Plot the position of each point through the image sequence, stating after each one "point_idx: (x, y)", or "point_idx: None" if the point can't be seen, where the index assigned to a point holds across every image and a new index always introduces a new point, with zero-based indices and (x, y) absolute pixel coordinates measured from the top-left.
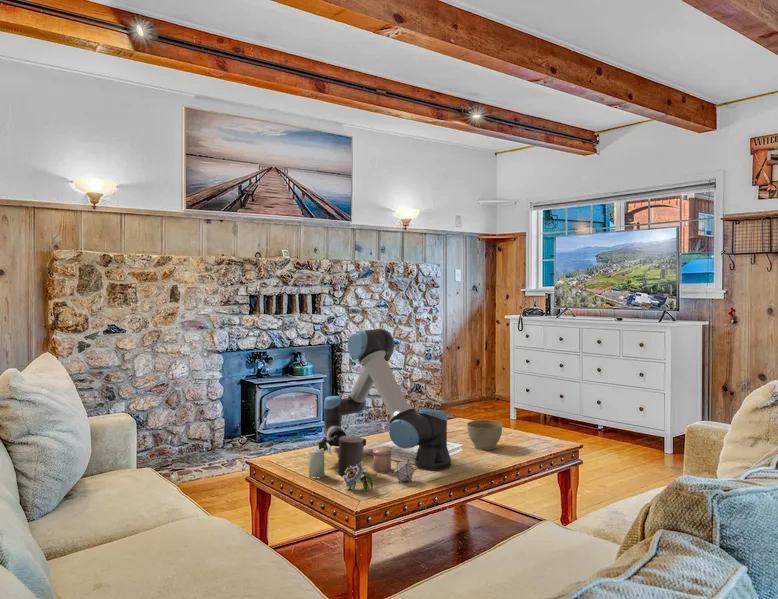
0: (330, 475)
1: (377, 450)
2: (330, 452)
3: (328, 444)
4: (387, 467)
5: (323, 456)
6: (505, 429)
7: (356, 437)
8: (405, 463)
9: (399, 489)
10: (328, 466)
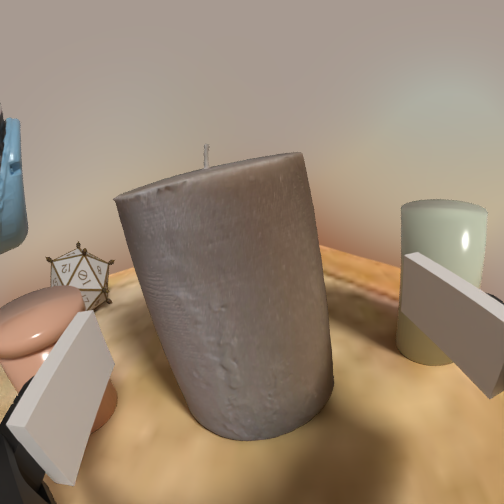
0: (368, 355)
1: (49, 309)
2: (403, 300)
3: (468, 292)
4: None
5: (401, 235)
6: None
7: (154, 183)
8: (72, 251)
9: (135, 281)
10: (431, 489)
